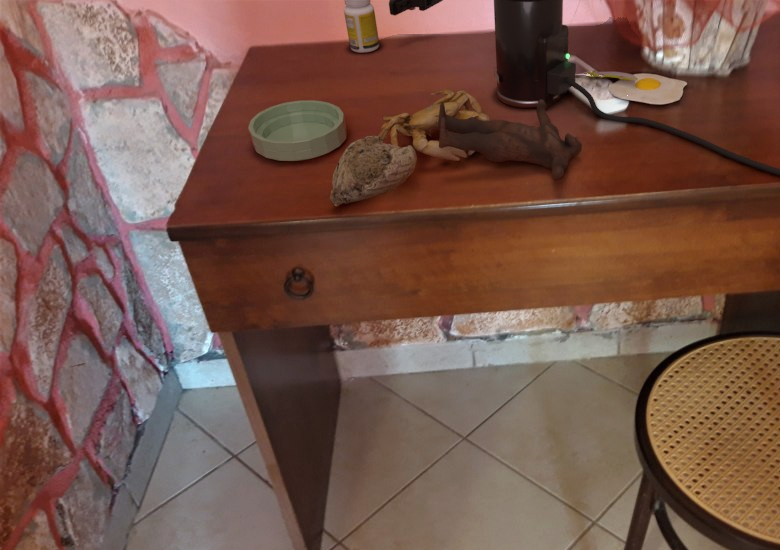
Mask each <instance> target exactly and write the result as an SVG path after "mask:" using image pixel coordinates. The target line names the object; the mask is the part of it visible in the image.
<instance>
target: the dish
mask: <svg viewBox="0 0 780 550" xmlns="http://www.w3.org/2000/svg"><path fill="white" fill-rule="evenodd" d="M247 129H248V133H249V136H250V141H251V144H252V146H253V148H254V151H255V152H256V153H257V154H259V155H260V156H262V157H264V158H266V159H270V160H275V161H280V162H282V161H283V162H300V161H307V160H308V161H309V160H313V159H316V158H319V157H321V156H324V155H327V154H329V153H331V152H332V151H334V150H335V149H337V148H339V147H341V145H343V143H344V142H345V141H346V140H347V133H348V129H347V124H346V119H345V113H344V112H343V110H342V109H341V108H340V107H339V106H337V105H335V104H333V103H331V102H327V101H321V100H315V99H314V100H313V99H312V100H306V99H305V100H303V99H302V100H294V101H287V102H283V103H279V104H276V105H273V106H269V107H268V108H265V109H264V110H262V111H260V112H258V113H256V114H255V116H254V117H252V118H251V119H250V120H249V123H248V128H247Z"/></svg>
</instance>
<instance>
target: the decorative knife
mask: <svg viewBox="0 0 780 550" xmlns="http://www.w3.org/2000/svg"><path fill="white" fill-rule="evenodd" d="M583 73H584V72H583ZM587 73H588V74H590V75H591V77H593V78H596V77H597V78H601V79H603V78H614V79H618V80H621V79H626V80H632V81H634V82H635V81H636V80H638V78H636V77H635V76H634V74H631V73H628V72H621V71H597V70H595V69H593V70H592V71H590V70H587V71H586V72H585V73H584V74H587ZM601 74H602V75H603V77H601V76H599V75H601ZM592 75H593V76H592Z"/></svg>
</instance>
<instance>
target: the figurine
mask: <svg viewBox="0 0 780 550" xmlns="http://www.w3.org/2000/svg"><path fill="white" fill-rule="evenodd" d="M546 110H547V108H546V103H545V102H544V100H542V99H541V100H539V101H538V104H537V108H536V116H537V119H538V122H539V126H536V125H530V124H526V123H523V122H518V121H514V122H513V121H508V120H505V119H490V120H487V121H481V120H479V119H477V118H475V117H470V118H468V119H458V118H455V117H452V116H448V115H447V114H446V113H445V106H444V103H443V102H441V103H440V110H439V120H438V127H437V130H438V131H439V140H438V141H439V148H444V147H447V146H450V147H454V148H457V149H461V150H463V151H464V152H468V151H475V152H477V153H480V154H481V155H484V156H485V157H486V158H487V160H489V161H490V162H494V163H503V162H507V161H515V162H525V163H529V164H534V165H539V166H541V167H543V168H545V169H548V170H551V176H552V178H553V179H554V180H556V181H557V180H559V179H561V178H563V176H564V175H565V170H566V169H567V168H568V165H569V162H570V160H571V159H572V158H573V157H576V156H578V155H580V153H581V151H582V143H581V141H580V140H579V137H577V136H573V135H572V134H571V133H569V132H568V133H566V134H565V136H564V140H563V139H562V138H561V135H560V132H559V129H558V127H557V126H556V125H555V124H553V123H552V122H551V119H550V117H549V115H548V114H547V111H546Z"/></svg>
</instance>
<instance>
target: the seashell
mask: <svg viewBox="0 0 780 550" xmlns="http://www.w3.org/2000/svg"><path fill="white" fill-rule="evenodd" d="M417 156H418V155H417V153H416V149H415V148H414V147H413V145H411V144H409V145H408V144H407V145H406V146H402V147H401V146H399V147H398V146H395V145H391V143H384V141H383V138H382V136H378V135H371V136H370V135H367V136H366V137H364V138H359V139H357V140H355V141H353V142H351V143H350V144H349V145H348V146H347V147H346V148H345V149H344V151H343V153H342V155H341V156H340V157H339V160H338V162H337V164H336V166H335V169H334V170H333V174H332V182H331V184H332V189H331V190H330V193H329V194H330V196H329V201H330V202H331V203H332V204H333V205H334V206H335V207H340V205H342V204H345V205H346V204H349V203H355V202H360V201H363V200H368V199H372V198H374V197H377V196H380V195H385V194H388V193H389V192H390V193H391V192H394V191H395V190H396V189H397V188H399V187H400V186H402V184H403V183H405V182H406V181H407V179H408V178H409V177H411V175H412V174H413V173H414V171H415V168H416V165H417V160H418V158H417Z"/></svg>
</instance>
